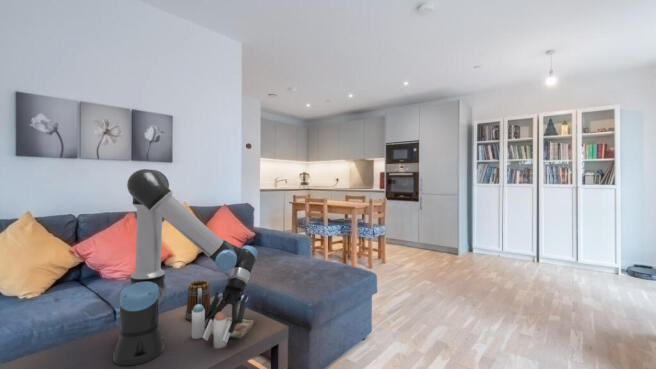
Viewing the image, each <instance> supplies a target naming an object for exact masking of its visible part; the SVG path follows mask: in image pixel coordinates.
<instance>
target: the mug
mask: <svg viewBox="0 0 656 369" xmlns="http://www.w3.org/2000/svg"><path fill="white" fill-rule="evenodd" d="M210 293H211V289H210V281H207V280H204V279H203V280H195V281H192V282H190V283H189V284H188V289H187V302H186V311H185V319H186V320H187V321H189V322H192V310H193V308H194V306H195V305H197V304H201V305H202V306H203V308H204V309H205V314H206V312H207V310H208V309H209V307H210V305H211V295H210ZM205 320H208V319H207V318H206V317H205Z"/></svg>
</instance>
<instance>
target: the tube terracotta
mask: <svg viewBox="0 0 656 369" xmlns="http://www.w3.org/2000/svg"><path fill="white" fill-rule="evenodd" d="M226 329H227V316H226V313H225V312H224V311H221V312H218V313H217V314H216V315H215V318H214V335H213V343H212V344H213V348H214V349H223V348H225V347H227V344H228V342H227V343H225V342H223V341H222V340H223V337H224V334H225V332H226Z"/></svg>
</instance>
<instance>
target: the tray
mask: <svg viewBox="0 0 656 369" xmlns="http://www.w3.org/2000/svg"><path fill="white" fill-rule="evenodd" d="M226 317H227V316H226ZM231 320H232V317H227V326H228V324H229V322H232V321H231ZM255 325H256V324H255V320H251V319H244V318H243V320H242V323H238V324H236V326H235V329H234V331H233V333H231V334H230V336H229V338H232V339H239V340H241V339H242V338H243V337H244V336H245V335H246V334H247V333H248V332H249V331H250V330H251V329H252V328H254V326H255ZM205 330H206V329H205V328H204V333H205ZM209 336H214V326H213V328H212V331H211V333H210V335H209Z"/></svg>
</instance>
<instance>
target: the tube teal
mask: <svg viewBox="0 0 656 369" xmlns="http://www.w3.org/2000/svg"><path fill="white" fill-rule="evenodd" d="M205 320H206V319H205V309H204V308H203V306H202V305H201V304H197V305H195V306H194V308H193V310H192V321H191V338H192V339H195V340H199V339H202V338H203V335H204V329H205V326H206V324H205Z"/></svg>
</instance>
